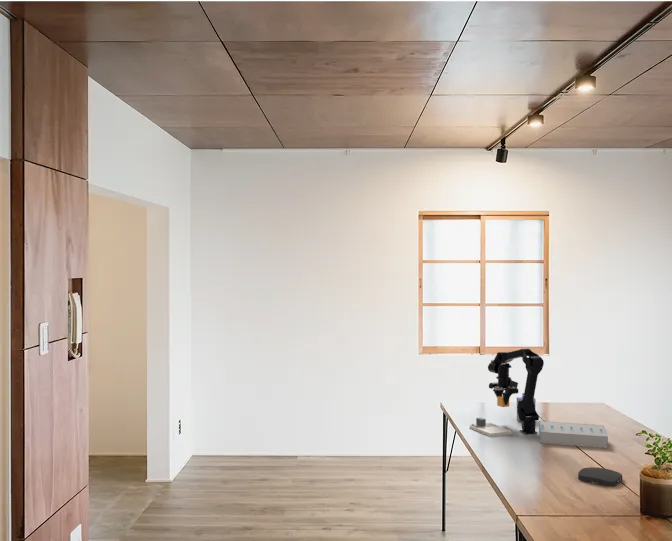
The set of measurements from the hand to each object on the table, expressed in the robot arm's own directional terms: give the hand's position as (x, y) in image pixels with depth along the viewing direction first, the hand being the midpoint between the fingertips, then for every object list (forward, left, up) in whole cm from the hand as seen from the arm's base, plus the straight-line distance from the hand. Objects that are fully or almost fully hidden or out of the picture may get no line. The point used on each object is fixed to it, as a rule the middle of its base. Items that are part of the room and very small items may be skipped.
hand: (503, 403), depth 343 cm
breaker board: (-12, +17, -10) cm, 23 cm away
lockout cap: (0, 0, -1) cm, 1 cm away
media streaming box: (-90, +21, -11) cm, 93 cm away
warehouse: (-43, -8, -11) cm, 45 cm away
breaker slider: (-6, +19, -9) cm, 21 cm away
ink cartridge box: (+1, -16, -10) cm, 19 cm away
